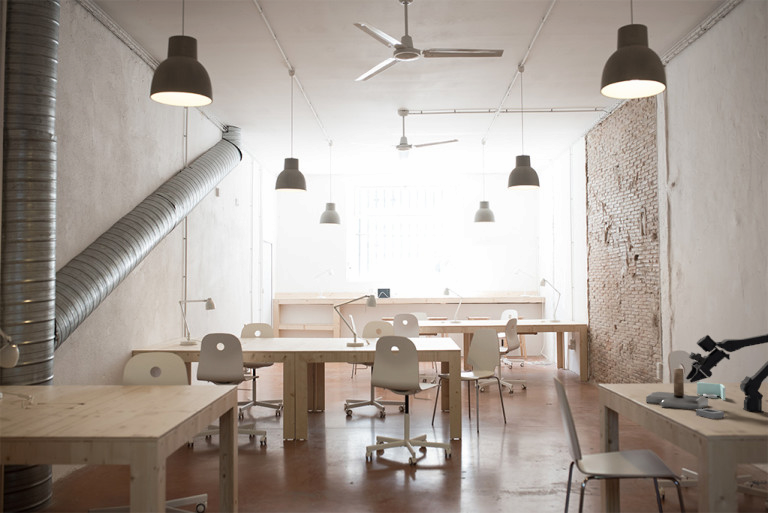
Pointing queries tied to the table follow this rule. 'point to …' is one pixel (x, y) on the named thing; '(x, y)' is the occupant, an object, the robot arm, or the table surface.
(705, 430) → the table surface
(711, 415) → the socket block
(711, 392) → the l-shaped corner panel
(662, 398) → the emblem
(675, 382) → the walnut dowel
